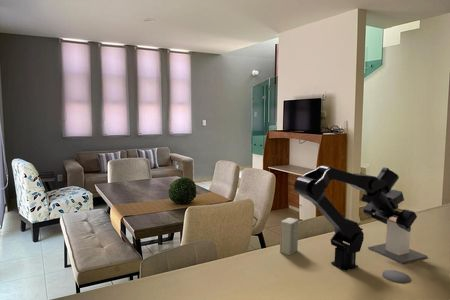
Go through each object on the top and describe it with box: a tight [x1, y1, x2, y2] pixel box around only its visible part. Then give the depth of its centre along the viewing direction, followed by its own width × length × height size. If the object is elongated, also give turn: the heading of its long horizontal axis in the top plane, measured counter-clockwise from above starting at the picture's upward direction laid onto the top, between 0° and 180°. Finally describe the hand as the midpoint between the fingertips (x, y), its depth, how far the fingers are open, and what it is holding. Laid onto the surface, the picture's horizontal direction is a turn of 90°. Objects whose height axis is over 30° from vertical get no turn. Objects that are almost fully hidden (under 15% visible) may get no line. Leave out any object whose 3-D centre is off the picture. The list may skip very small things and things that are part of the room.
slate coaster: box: [381, 269, 411, 284], centre depth 111 cm, size 8×8×1 cm
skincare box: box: [279, 217, 300, 256], centre depth 130 cm, size 6×4×12 cm
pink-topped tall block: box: [385, 217, 411, 255], centre depth 130 cm, size 6×6×12 cm
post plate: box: [367, 242, 428, 265], centre depth 130 cm, size 13×15×5 cm
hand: (398, 227), depth 129 cm, fingers open, 9 cm apart
